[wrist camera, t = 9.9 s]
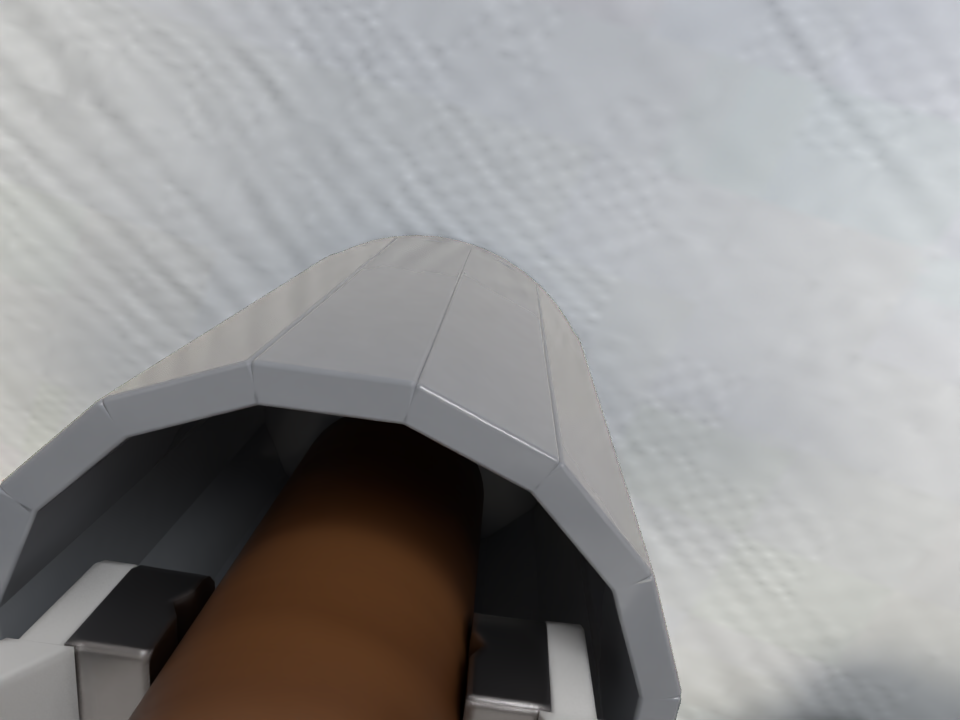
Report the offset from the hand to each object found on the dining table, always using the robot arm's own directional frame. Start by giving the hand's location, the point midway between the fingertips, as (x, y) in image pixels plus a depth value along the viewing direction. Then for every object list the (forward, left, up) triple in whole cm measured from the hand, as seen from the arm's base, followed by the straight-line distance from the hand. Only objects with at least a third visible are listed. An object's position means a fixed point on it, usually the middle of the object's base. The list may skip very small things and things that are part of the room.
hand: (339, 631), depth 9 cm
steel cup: (0, 0, -9) cm, 9 cm away
